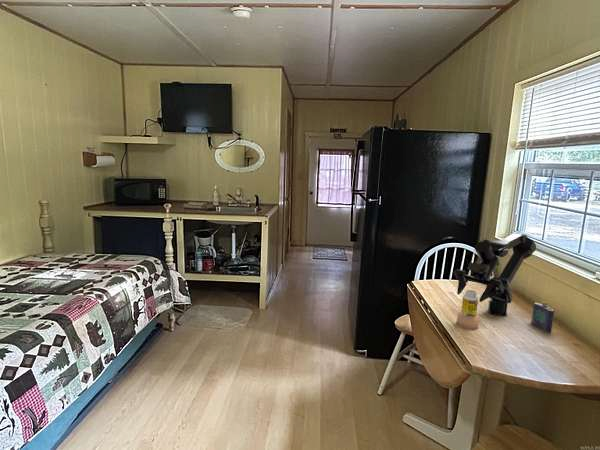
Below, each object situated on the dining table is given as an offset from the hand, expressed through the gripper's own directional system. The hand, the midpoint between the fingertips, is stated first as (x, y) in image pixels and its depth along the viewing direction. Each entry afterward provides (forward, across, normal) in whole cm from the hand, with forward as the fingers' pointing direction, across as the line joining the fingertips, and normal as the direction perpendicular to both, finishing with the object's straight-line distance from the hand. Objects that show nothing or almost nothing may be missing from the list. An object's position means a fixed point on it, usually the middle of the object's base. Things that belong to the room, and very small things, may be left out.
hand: (468, 297), depth 143 cm
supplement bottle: (+5, 0, +7) cm, 8 cm away
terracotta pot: (+8, 0, +10) cm, 12 cm away
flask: (-10, +17, +27) cm, 34 cm away
